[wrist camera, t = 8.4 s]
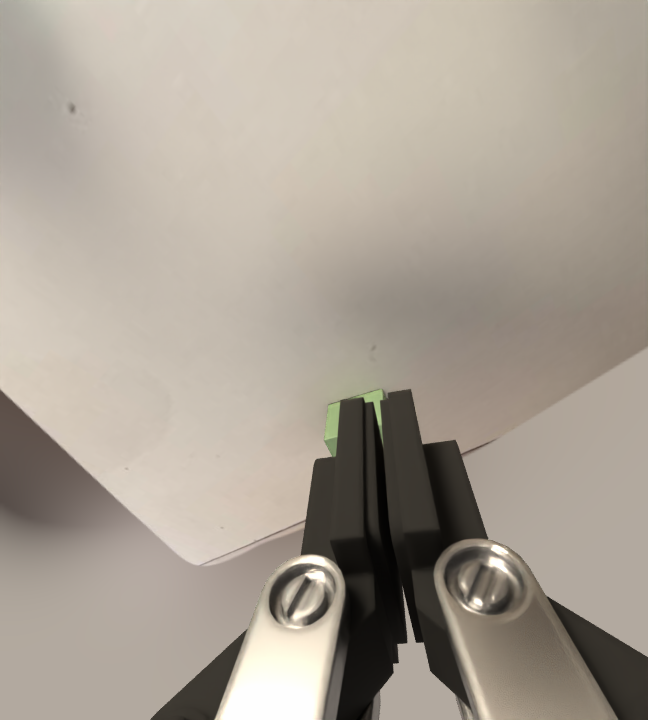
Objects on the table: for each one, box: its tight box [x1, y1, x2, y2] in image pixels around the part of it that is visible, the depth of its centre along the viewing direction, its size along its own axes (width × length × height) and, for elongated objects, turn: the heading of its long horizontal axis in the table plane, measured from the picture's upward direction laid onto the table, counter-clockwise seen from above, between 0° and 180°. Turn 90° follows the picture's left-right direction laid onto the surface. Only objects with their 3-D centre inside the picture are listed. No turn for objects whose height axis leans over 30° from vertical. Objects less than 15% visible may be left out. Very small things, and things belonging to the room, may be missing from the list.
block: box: [324, 389, 386, 457], centre depth 28 cm, size 4×4×4 cm
